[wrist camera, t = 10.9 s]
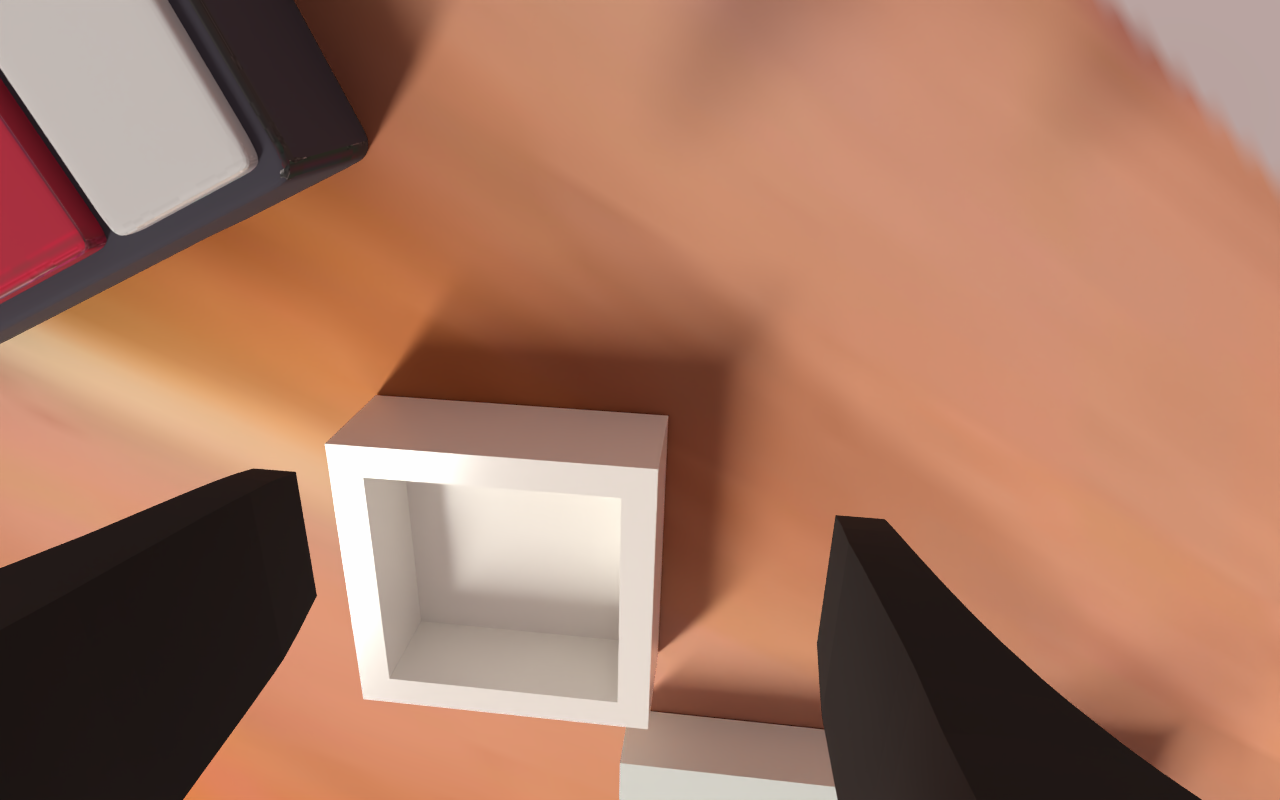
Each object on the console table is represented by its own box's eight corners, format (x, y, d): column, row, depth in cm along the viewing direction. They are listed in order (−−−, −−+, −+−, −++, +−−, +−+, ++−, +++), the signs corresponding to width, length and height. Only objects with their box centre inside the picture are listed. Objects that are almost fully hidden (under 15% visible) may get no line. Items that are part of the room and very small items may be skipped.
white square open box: (668, 415, 20) (658, 469, 17) (658, 654, 23) (647, 729, 21) (375, 395, 21) (325, 444, 18) (403, 629, 24) (363, 698, 21)
